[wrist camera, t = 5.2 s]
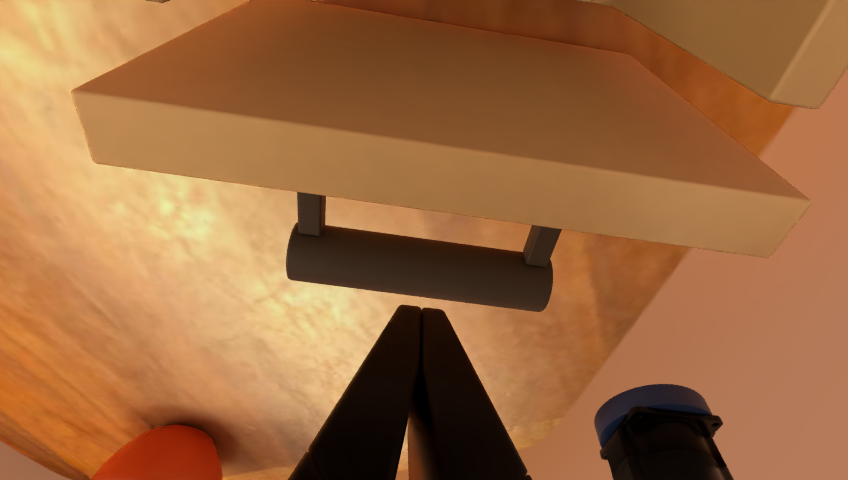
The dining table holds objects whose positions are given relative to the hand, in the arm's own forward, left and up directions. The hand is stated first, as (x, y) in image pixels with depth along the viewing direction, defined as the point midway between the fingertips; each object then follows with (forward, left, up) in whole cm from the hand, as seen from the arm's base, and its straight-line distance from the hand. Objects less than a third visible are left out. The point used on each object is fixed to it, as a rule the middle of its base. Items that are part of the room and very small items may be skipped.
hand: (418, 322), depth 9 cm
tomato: (+13, +25, -10) cm, 30 cm away
